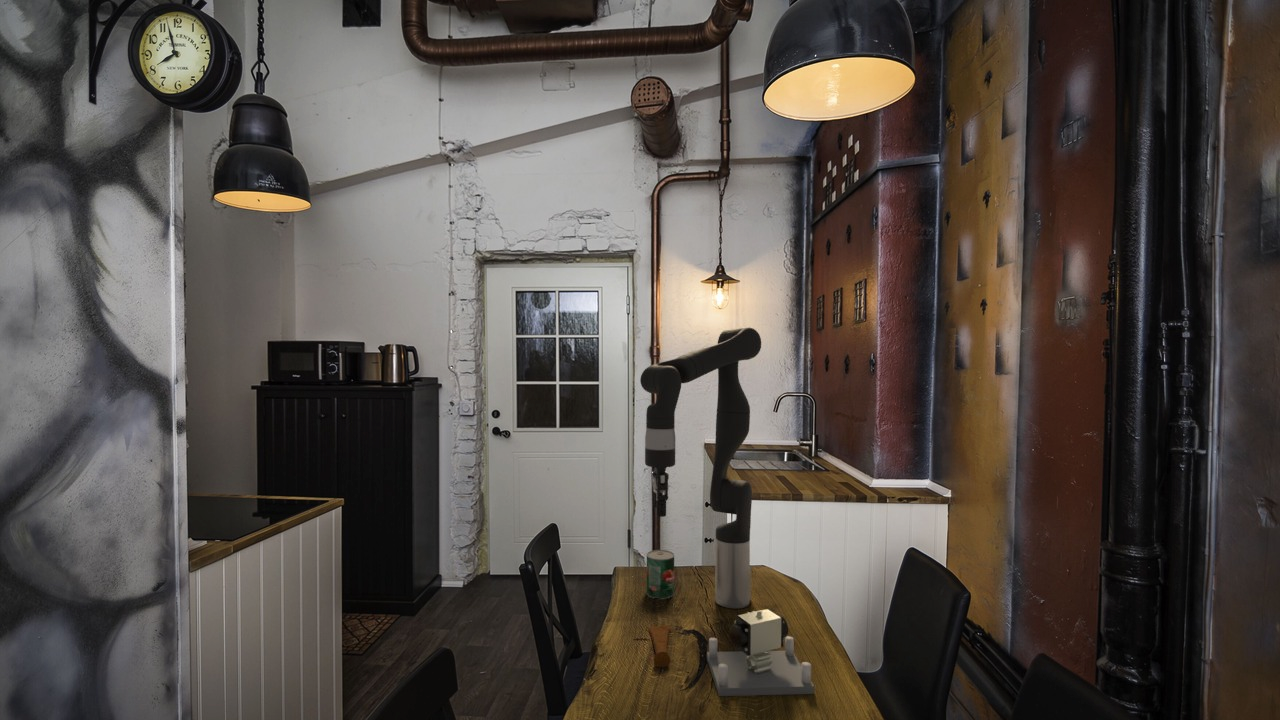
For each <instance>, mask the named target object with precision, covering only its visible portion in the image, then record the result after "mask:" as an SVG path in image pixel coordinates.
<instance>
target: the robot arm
mask: <svg viewBox="0 0 1280 720" xmlns="http://www.w3.org/2000/svg"><path fill="white" fill-rule="evenodd" d="M761 348H762V338H761V335H760V334H759V332H758V331H757V329H755V328H753V327H746V326H743V327H734V328H729V329H727V328H726V329H725V330H723V331H721V333H720V334H719V336H718V339H717V343H716V344H712V345H709V346H705V347H702V348H698V349H695V350H691V351H690V352H687V353H685V354H683V355H679V356H678V357H676V358H674V359H669V360H665V361H662V362H657V363H654V364H651V365H649V366H648V367H646V368H644V370H643V371H642V373H641V374H640V375H641V376H640V385H641V387H642V389H643V390H644V391H645V392H647V393H649V394H654V395H656V394H657V397H656V401H655V403H652V404H649V405H648V406H647V408H646V414H645V416H646V417H645V418H646V419H645V423H646V424H645V425H646V427H645V428H646V429H645V436H644V463H645V465H646V466H647V467H649V468H652V472H651V486H652V491H653V507H654V508H656V516H657V517H659V518H660V517H666V516H667V501H668V500H669V495H668V494H669V493H668V492H669V480H670V478H669V477H670V475H669V473H668V471H667V470H666V469H667V468H672V467H674V466H675V465H676V432H675V429H676V428H675V424H676V423H675V422H676V421H675V420H676V419H675V418H676V417H675V415H676V414H675V412H676V409H677V405H678V401H679V397H680V393H681V389H682V384H687V383H689V382H692V381H694V380H697V379H699V378H700V377H702V376H705V375H707V374H708V373H711V372H714V371H715V370H717V373H718V374H717V379H718V382H717V402H716V403H717V404H716V419H715V441H714V442H715V445H714V446H715V447H714V458H713V466H712V467H713V468H712V475H711V482H710V490H709V491H710V492H709V504H710V507H711V509H712V511H714V512H715V513H724V514H731V515H736V516H735V518H736V519H735V520H733V521H730V522H727V523H722V524H720V525H718V526H717V527H716V528H715V560H714V561H715V562H714V563H715V568H714V569H715V574H714V575H715V578H714V580H715V581H714V582H715V584H714V585H715V587H714V588H715V591H714V592H715V593H714V594H715V595H714V597H715V598H714V599H715V600H714V601H715V603H716V604H717V605H719V606H721V607H724V608H728V609H744V608H746V607H748V606H749V605H750V601H751V596H752V595H751V591H752V589H751V585H752V581H751V580H752V579H751V578H752V566H751V564H750V561H751V560H750V559H751V557H750V556H751V551H750V550H751V548H750V547H751V543H750V542H751V540H750V539H751V527H752V526H751V525H752V523H751V518H752V501H753V491H752V486H751V483H750V481H747V480H743V479H733V478H727V474H728V469H729V467H730V463H731V461H732V459H733V457H734V456H735V455H736V453H737V451H738V450H739V449H740V447H741V446H742V444H744V441H745V440H746V438H747V437H748V435H749V431H750V423H751V419H750V418H751V407H750V403H749V400H748V398H747V396H746V394H745V391H744V390H743V388H742V385H741V383H740V379H739V362H740V361H747V360H752V359H753V358H755V357H756V356H758V355H759V354H760V352H761V350H762V349H761Z"/></svg>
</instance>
